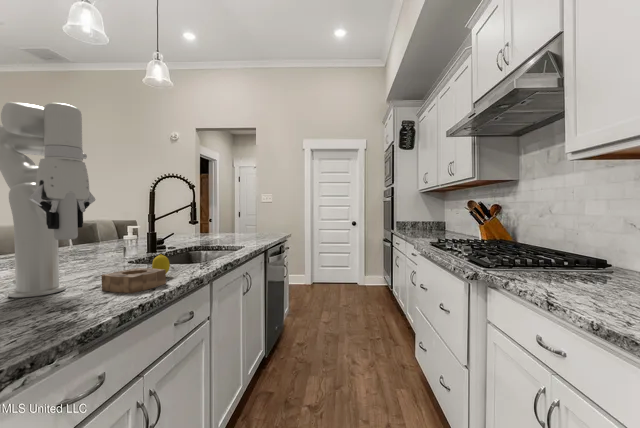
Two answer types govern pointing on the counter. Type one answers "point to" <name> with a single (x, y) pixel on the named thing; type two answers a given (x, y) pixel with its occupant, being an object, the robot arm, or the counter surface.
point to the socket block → (133, 280)
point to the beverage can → (67, 218)
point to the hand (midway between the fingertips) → (65, 227)
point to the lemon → (161, 263)
